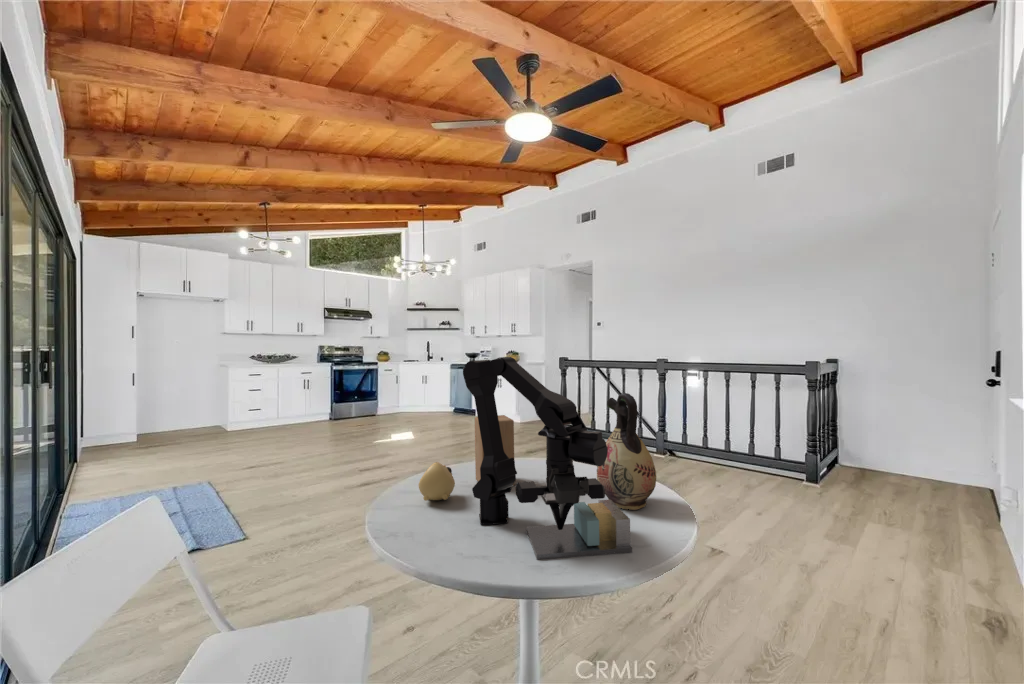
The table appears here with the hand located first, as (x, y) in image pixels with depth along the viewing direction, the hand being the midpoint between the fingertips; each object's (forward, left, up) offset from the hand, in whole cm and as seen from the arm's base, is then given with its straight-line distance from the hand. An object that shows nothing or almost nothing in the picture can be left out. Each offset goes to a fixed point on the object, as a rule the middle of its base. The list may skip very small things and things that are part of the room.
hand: (560, 529), depth 102 cm
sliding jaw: (+6, 0, -2) cm, 6 cm away
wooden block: (-10, +44, -3) cm, 45 cm away
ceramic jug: (+23, +19, -3) cm, 29 cm away
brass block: (+9, 0, -2) cm, 9 cm away
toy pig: (-27, +32, -3) cm, 42 cm away
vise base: (+4, 0, -3) cm, 5 cm away
